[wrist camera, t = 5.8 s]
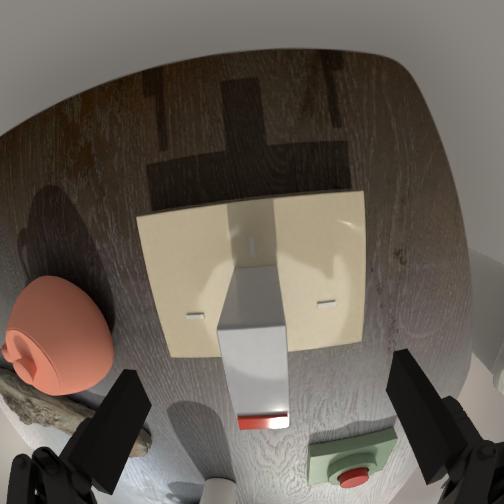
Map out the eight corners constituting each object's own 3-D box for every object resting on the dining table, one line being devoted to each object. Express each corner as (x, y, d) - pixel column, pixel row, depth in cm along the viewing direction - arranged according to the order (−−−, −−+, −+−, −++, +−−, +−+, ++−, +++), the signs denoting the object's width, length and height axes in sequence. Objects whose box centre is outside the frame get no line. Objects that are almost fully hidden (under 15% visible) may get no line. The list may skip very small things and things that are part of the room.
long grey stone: (161, 448, 32) (150, 408, 30) (154, 474, 27) (140, 436, 25) (6, 393, 31) (-12, 352, 29) (-7, 407, 26) (-27, 365, 24)
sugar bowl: (139, 368, 26) (101, 437, 16) (55, 361, 27) (14, 407, 17) (100, 260, 23) (27, 307, 13) (19, 275, 24) (-39, 309, 14)
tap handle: (233, 268, 19) (214, 332, 11) (277, 264, 19) (286, 327, 11) (245, 350, 21) (237, 431, 13) (283, 348, 21) (290, 428, 13)
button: (368, 463, 26) (371, 473, 24) (363, 475, 27) (366, 484, 25) (340, 470, 26) (342, 480, 24) (337, 481, 27) (338, 490, 25)
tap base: (350, 188, 20) (364, 190, 17) (351, 337, 24) (360, 357, 21) (151, 211, 21) (134, 217, 18) (183, 352, 25) (175, 372, 22)
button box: (393, 427, 28) (401, 447, 24) (379, 460, 31) (385, 478, 27) (308, 444, 29) (311, 468, 25) (306, 474, 31) (308, 494, 28)
